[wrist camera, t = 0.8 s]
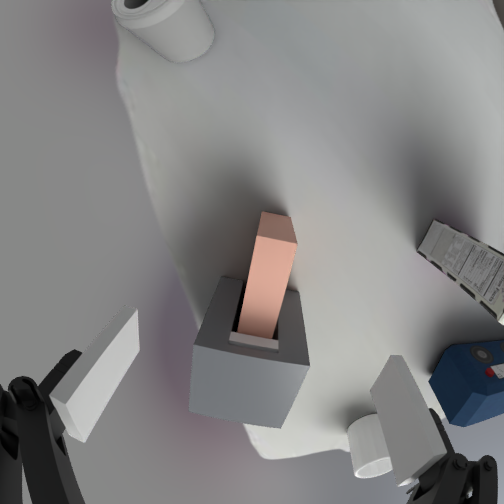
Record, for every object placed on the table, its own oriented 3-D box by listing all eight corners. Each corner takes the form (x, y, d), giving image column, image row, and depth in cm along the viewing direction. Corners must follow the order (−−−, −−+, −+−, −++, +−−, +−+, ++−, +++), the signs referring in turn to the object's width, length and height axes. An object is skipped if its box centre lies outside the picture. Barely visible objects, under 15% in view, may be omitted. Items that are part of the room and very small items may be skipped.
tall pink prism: (261, 211, 29) (256, 235, 20) (290, 217, 29) (297, 244, 20) (236, 336, 34) (225, 388, 26) (260, 341, 34) (255, 393, 26)
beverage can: (149, 47, 23) (93, 8, 12) (189, 9, 22) (150, -45, 10) (186, 74, 25) (137, 35, 13) (228, 34, 23) (203, -24, 11)
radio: (515, 332, 32) (569, 395, 13) (496, 368, 35) (539, 433, 16) (445, 337, 33) (507, 433, 14) (423, 380, 36) (465, 474, 17)
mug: (404, 426, 40) (416, 464, 31) (346, 440, 42) (352, 481, 33) (411, 402, 38) (428, 443, 28) (347, 418, 39) (356, 464, 30)
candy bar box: (482, 252, 28) (561, 308, 13) (465, 283, 30) (536, 350, 14) (432, 214, 27) (530, 267, 12) (414, 251, 29) (497, 325, 14)
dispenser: (221, 276, 32) (193, 344, 20) (299, 292, 32) (309, 366, 20) (212, 338, 35) (188, 411, 23) (280, 351, 35) (280, 428, 23)
